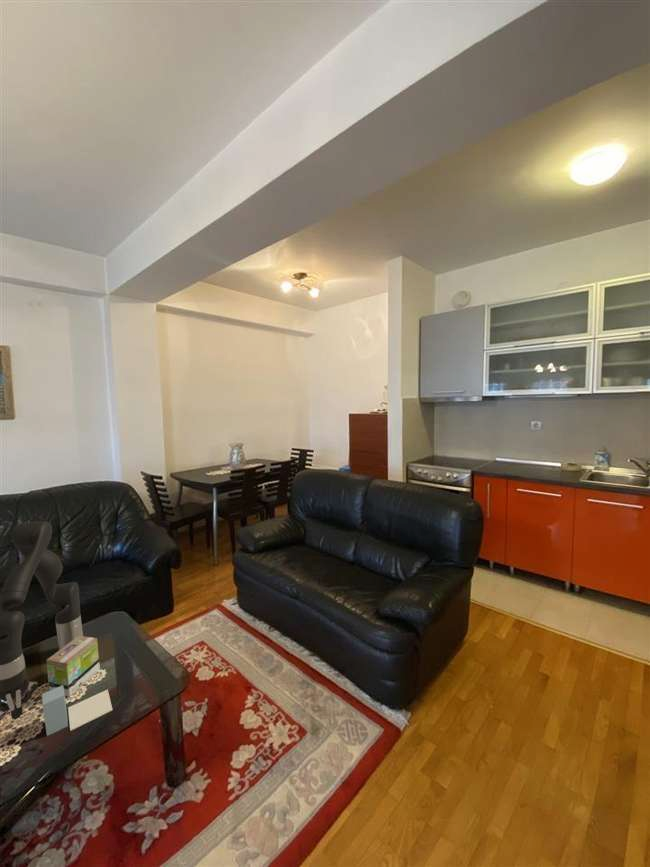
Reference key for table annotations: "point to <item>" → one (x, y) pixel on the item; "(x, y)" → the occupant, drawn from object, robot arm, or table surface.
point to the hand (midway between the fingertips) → (17, 716)
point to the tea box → (73, 664)
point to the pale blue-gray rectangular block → (55, 710)
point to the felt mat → (89, 709)
